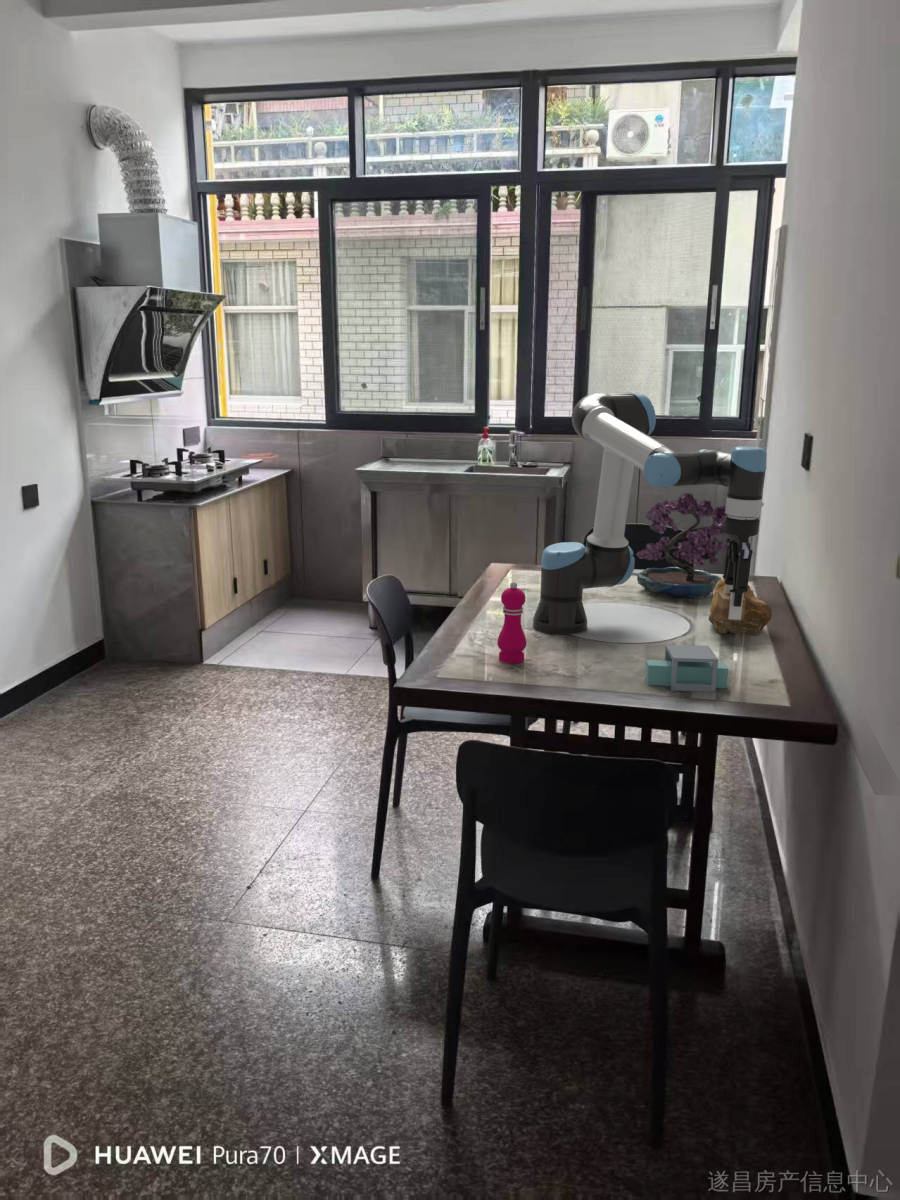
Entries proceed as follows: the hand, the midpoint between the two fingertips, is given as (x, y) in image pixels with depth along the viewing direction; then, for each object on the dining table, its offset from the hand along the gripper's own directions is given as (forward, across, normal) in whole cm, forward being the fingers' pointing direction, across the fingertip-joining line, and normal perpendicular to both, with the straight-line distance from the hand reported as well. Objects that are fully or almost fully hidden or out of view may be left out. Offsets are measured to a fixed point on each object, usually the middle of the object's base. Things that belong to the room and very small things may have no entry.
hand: (731, 615), depth 212 cm
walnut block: (0, 0, 0) cm, 1 cm away
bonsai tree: (+18, +84, -8) cm, 86 cm away
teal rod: (+16, -4, +10) cm, 19 cm away
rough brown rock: (+17, +42, -14) cm, 47 cm away
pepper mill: (+17, +10, +50) cm, 54 cm away
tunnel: (+16, -4, +9) cm, 19 cm away
